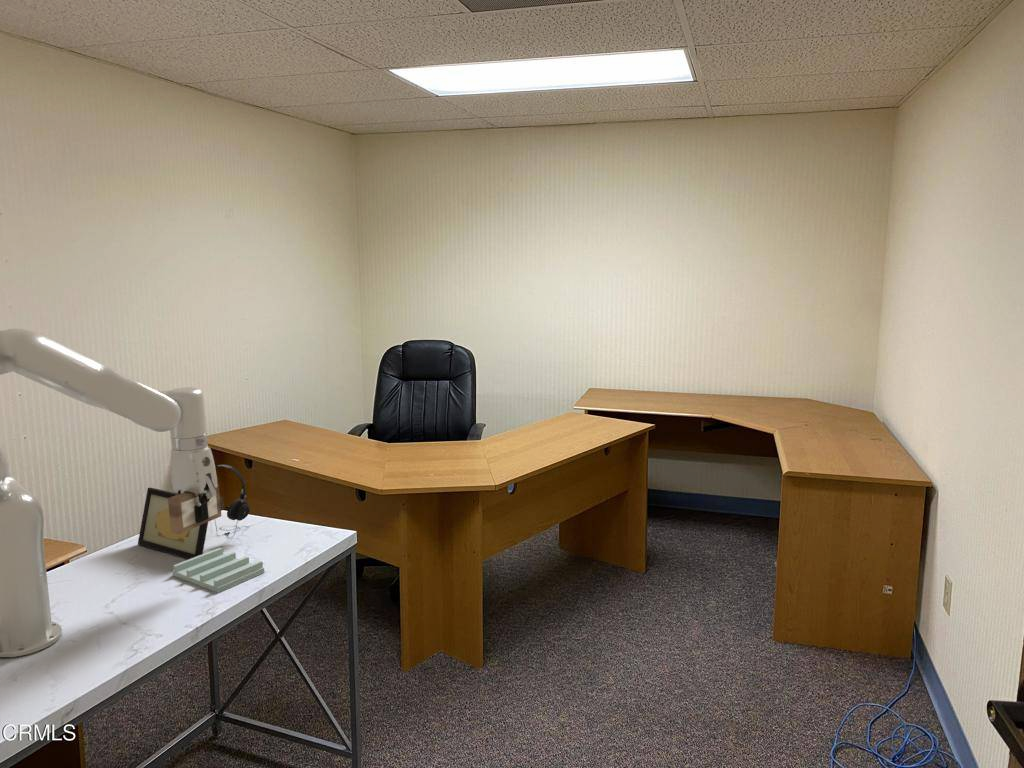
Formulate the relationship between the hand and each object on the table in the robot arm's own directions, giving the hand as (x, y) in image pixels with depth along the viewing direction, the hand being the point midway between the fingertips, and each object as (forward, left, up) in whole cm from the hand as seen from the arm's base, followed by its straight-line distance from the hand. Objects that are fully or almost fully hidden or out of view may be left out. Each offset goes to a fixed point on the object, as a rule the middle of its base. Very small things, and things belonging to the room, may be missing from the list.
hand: (196, 519), depth 169 cm
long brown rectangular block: (0, 0, -1) cm, 1 cm away
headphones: (+25, +21, -16) cm, 36 cm away
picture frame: (+11, +24, -16) cm, 31 cm away
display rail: (+6, +2, -16) cm, 17 cm away
